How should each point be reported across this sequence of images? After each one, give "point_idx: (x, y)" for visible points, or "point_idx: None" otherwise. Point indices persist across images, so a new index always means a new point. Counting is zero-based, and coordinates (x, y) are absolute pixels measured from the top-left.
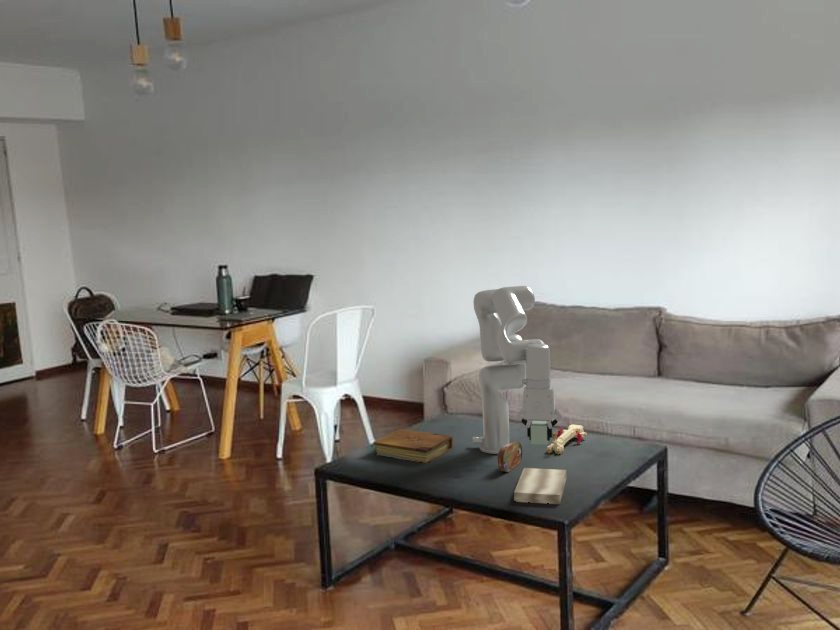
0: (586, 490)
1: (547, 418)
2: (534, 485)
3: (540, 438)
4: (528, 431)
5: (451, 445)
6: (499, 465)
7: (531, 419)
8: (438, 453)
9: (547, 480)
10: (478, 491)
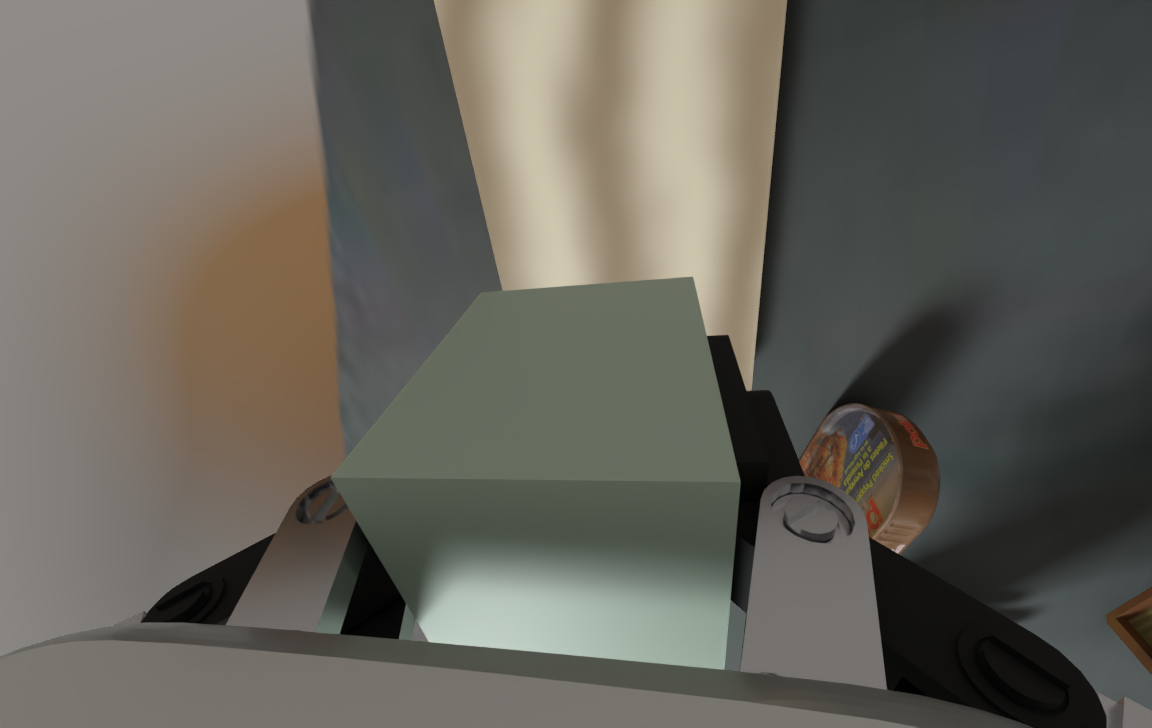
0: (408, 266)
1: (68, 695)
2: (647, 137)
3: (545, 323)
4: (767, 442)
5: (1127, 630)
6: (901, 416)
7: (738, 692)
8: None
9: (584, 249)
10: (1068, 75)
